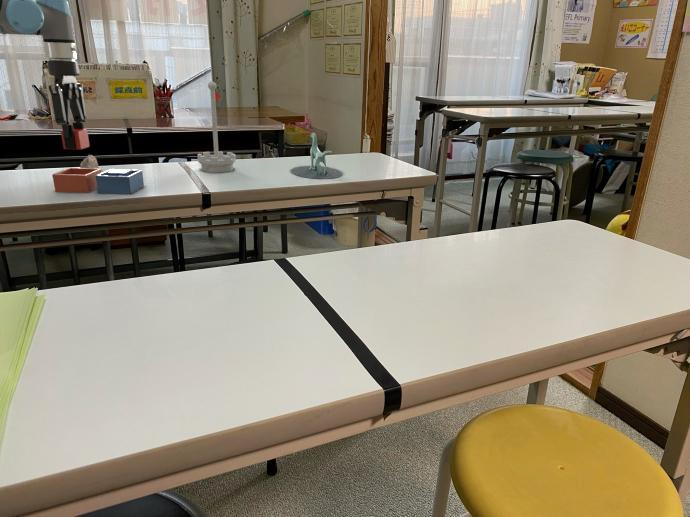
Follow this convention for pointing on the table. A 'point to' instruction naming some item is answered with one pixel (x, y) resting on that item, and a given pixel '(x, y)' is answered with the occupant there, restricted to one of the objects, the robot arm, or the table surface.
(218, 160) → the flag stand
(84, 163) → the rock
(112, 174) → the blue block
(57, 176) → the terracotta bin
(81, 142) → the red block
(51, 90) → the robot arm
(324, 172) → the dinosaur
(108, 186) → the blue bin
